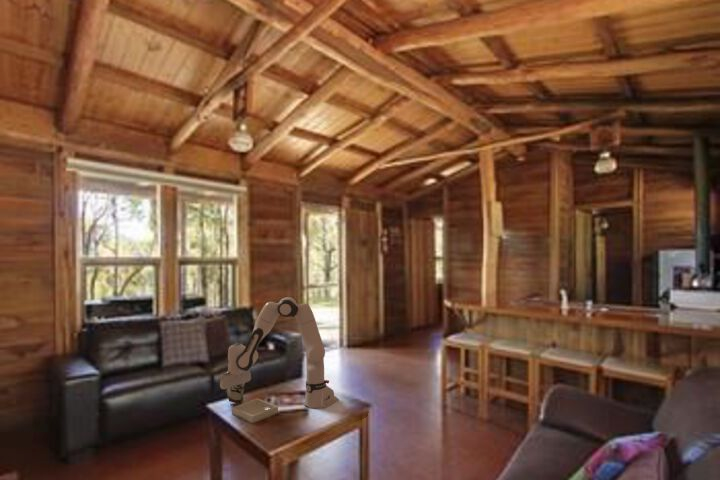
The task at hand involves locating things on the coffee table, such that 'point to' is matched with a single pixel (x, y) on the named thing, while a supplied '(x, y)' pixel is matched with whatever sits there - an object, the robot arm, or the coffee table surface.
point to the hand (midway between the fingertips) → (235, 392)
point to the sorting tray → (254, 410)
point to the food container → (236, 394)
